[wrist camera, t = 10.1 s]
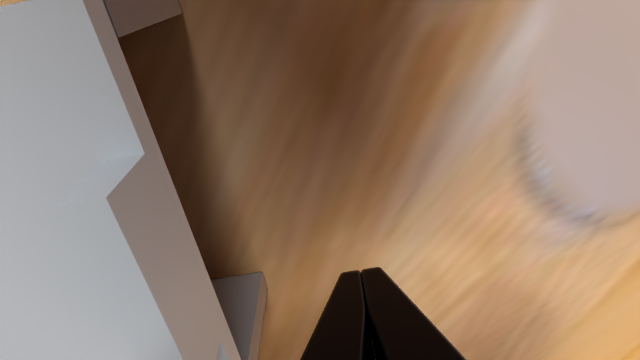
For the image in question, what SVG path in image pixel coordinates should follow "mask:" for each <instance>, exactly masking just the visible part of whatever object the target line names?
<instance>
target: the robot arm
mask: <svg viewBox="0 0 640 360" xmlns="http://www.w3.org/2000/svg"><path fill="white" fill-rule="evenodd" d="M361 276H362V277H361ZM371 336H372V337H371ZM372 342H373V343H372ZM373 348H374V349H373ZM374 354H375V355H374ZM300 360H466V359H465V358H464V357H463V356H462V354H461V353H460V352H459V351H458V350H457V349H456V348H455V347H454V346H453V345H452V344H451V343H450V342H449V341H448V339H447V338H446V337H445V336H444V335H443V334H442V333H441V332H440V331H439V330H438V329H437V328H436V327H435V325H434V324H433V323H432V322H431V321H430V320H429V319H428V318H427V317H426V316H425V315H424V314H423V313H422V311H421V310H420V309H419V308H418V307H417V306H416V305H415V304H414V303H413V302H412V301H411V300H410V299H409V298H408V296H407V295H406V294H405V293H404V292H403V291H402V290H401V289H400V288H399V287H398V286H397V285H396V284H395V282H394V281H393V280H392V279H391V278H390V277H389V276H388V275H387V274H386V273H385V272H384V271H383V270H382V269H381V268H380V267H375V268H368V269H363V270H362V271H361V272H360V271H358V270H355V271H349V272H343V273H341V274H340V276H339V278H338V280H337V283H336V285H335V287H334V289H333V291H332V293H331V295H330V297H329V300H328V302H327V304H326V306H325V308H324V310H323V312H322V314H321V317H320V319H319V321H318V323H317V325H316V327H315V329H314V331H313V334H312V336H311V338H310V340H309V342H308V344H307V346H306V349H305V351H304V353H303V355H302V357H301V359H300Z"/></svg>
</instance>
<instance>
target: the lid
mask: <svg viewBox="0 0 640 360" xmlns="http://www.w3.org/2000/svg"><path fill="white" fill-rule="evenodd" d="M0 360H241V358H240V355H239V353H238V350H237V348H236V345H235V342H234V340H233V337H232V335H231V332H230V329H229V327H228V324H227V322H226V319H225V316H224V314H223V311H222V309H221V306H220V303H219V301H218V298H217V296H216V293H215V291H214V288H213V285H212V283H211V280H210V278H209V275H208V272H207V270H206V267H205V265H204V262H203V259H202V257H201V254H200V252H199V249H198V246H197V244H196V241H195V239H194V236H193V234H192V231H191V228H190V226H189V223H188V221H187V218H186V215H185V213H184V210H183V208H182V205H181V202H180V200H179V197H178V195H177V192H176V189H175V187H174V184H173V182H172V179H171V177H170V174H169V171H168V169H167V166H166V164H165V161H164V158H163V156H162V153H161V151H160V148H159V145H158V143H157V140H156V138H155V135H154V132H153V130H152V127H151V125H150V122H149V120H148V117H147V114H146V112H145V109H144V107H143V104H142V101H141V99H140V96H139V94H138V91H137V88H136V86H135V83H134V81H133V78H132V75H131V73H130V70H129V68H128V65H127V63H126V60H125V57H124V55H123V52H122V50H121V47H120V44H119V42H118V39H117V37H116V34H115V31H114V29H113V26H112V24H111V21H110V19H109V16H108V13H107V11H106V8H105V6H104V3H103V0H29V1H24V2H19V3H14V4H9V5H4V6H0Z"/></svg>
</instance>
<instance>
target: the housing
mask: <svg viewBox="0 0 640 360" xmlns="http://www.w3.org/2000/svg"><path fill="white" fill-rule="evenodd" d="M103 3H104V6H105V8H106V11H107V13H108V16H109V19H110V21H111V24H112V26H113V29H114V31H115V34H116V37H117V38H119V37H121V36H124V35H127V34H129V33H132V32H135V31H137V30H140V29H142V28H145V27H148V26H150V25H153V24H156V23H158V22H161V21H163V20H166V19H169V18H171V17H174V16H176V15H179V14H182V11H181V8H180V4H179V1H178V0H103ZM211 283H212V285H213V288H214V291H215V293H216V296H217V298H218V301H219V303H220V306H221V309H222V311H223V314H224V316H225V319H226V322H227V324H228V327H229V329H230V332H231V335H232V337H233V340H234V342H235V345H236V348H237V350H238V353H239V355H240V358H241V360H258V355H259V348H260V341H261V333H262V326H263V319H264V311H265V304H266V297H267V290H268V289H267V286H266V282H265V279H264V276H263V273H262V272H258V273H252V274H245V275H239V276H232V277H226V278H219V279H213V280H211Z"/></svg>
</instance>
